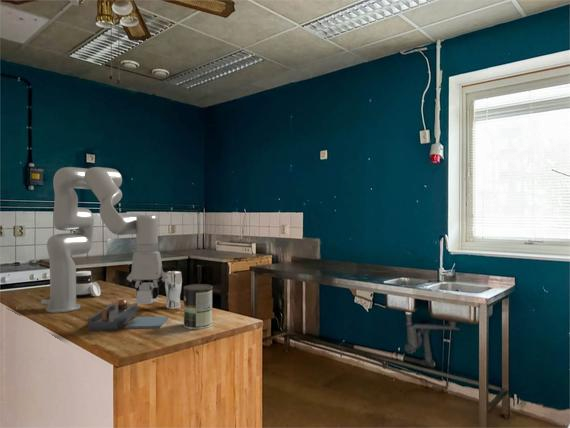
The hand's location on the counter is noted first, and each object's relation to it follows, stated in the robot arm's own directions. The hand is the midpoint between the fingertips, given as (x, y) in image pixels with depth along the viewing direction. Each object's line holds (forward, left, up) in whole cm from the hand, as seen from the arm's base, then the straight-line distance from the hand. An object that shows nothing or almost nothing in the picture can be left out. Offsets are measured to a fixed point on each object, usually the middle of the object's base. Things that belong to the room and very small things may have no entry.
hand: (147, 297), depth 148 cm
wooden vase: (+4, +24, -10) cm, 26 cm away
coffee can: (+19, -3, -10) cm, 21 cm away
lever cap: (0, 0, -1) cm, 1 cm away
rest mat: (0, 0, -10) cm, 10 cm away
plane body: (-13, +3, -10) cm, 17 cm away
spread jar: (-42, +47, -10) cm, 64 cm away
